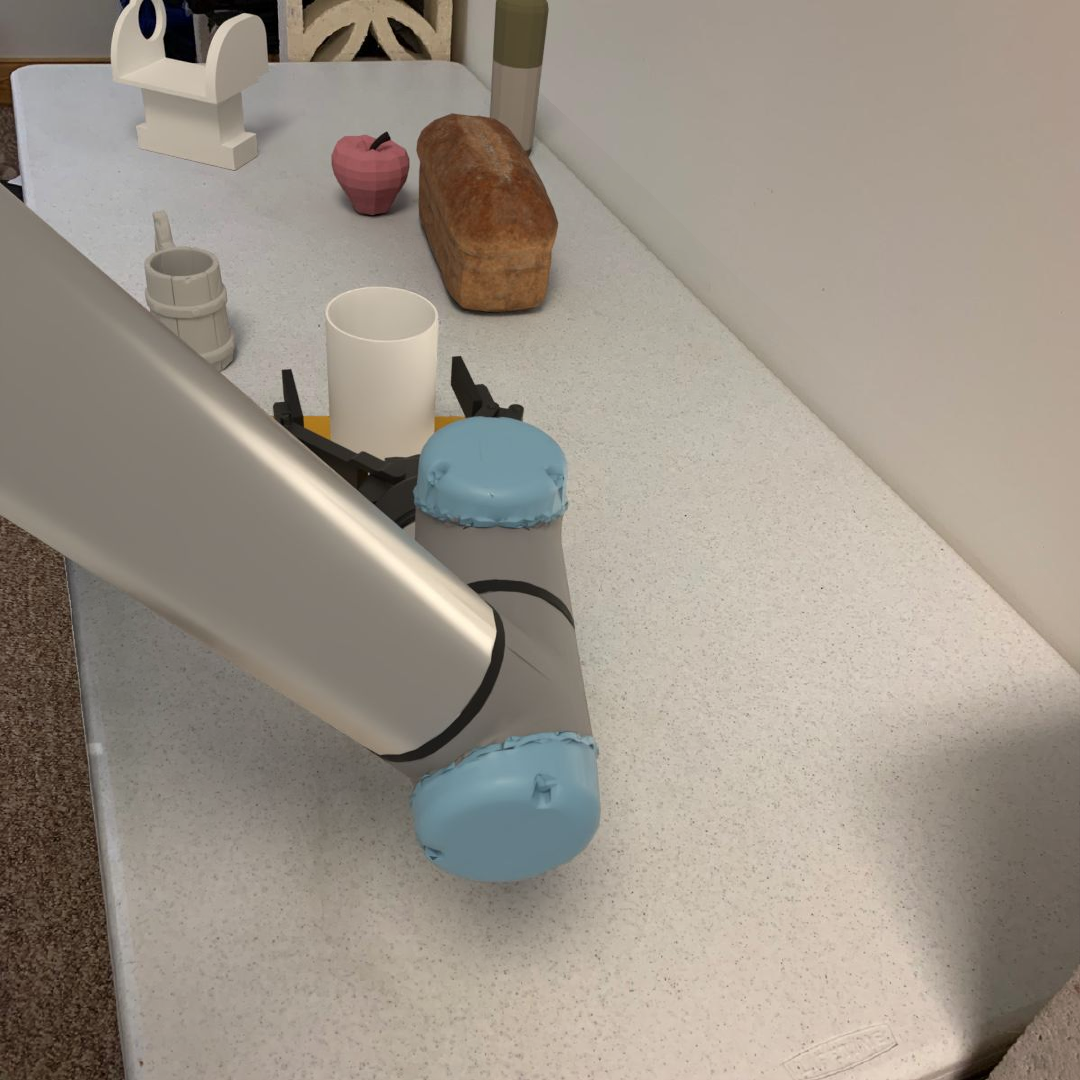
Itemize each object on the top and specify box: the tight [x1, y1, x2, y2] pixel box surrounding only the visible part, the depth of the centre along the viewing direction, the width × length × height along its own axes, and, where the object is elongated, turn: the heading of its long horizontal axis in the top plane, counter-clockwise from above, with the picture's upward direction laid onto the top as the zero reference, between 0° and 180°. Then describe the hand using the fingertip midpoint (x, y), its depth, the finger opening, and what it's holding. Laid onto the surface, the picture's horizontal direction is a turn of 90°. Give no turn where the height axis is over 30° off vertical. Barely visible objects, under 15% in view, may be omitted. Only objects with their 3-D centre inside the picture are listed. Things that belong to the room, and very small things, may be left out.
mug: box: [143, 209, 236, 372], centre depth 92 cm, size 8×12×12 cm, turn 31°
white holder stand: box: [110, 0, 270, 171], centre depth 126 cm, size 14×13×18 cm
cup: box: [324, 286, 439, 475], centre depth 78 cm, size 8×8×16 cm
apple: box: [330, 130, 411, 216], centre depth 120 cm, size 10×9×10 cm
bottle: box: [489, 0, 550, 156], centre depth 133 cm, size 7×7×30 cm
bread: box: [415, 112, 559, 313], centre depth 111 cm, size 12×28×14 cm, turn 15°
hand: (373, 376), depth 80 cm, fingers open, 13 cm apart
